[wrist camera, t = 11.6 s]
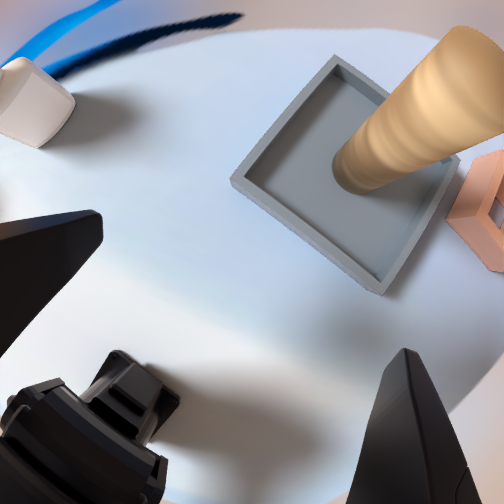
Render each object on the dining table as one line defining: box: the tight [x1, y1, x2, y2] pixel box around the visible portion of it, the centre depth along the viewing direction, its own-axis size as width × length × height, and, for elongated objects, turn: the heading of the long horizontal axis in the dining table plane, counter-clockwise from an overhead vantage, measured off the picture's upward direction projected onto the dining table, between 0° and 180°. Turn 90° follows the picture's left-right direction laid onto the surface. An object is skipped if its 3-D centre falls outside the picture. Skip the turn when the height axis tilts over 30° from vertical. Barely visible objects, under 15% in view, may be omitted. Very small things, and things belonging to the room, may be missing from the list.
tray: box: [229, 54, 461, 296], centre depth 19 cm, size 12×12×3 cm
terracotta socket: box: [445, 149, 504, 272], centre depth 19 cm, size 7×7×4 cm
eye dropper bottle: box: [0, 57, 76, 148], centre depth 15 cm, size 4×6×12 cm
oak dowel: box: [332, 26, 504, 194], centre depth 12 cm, size 4×4×14 cm
